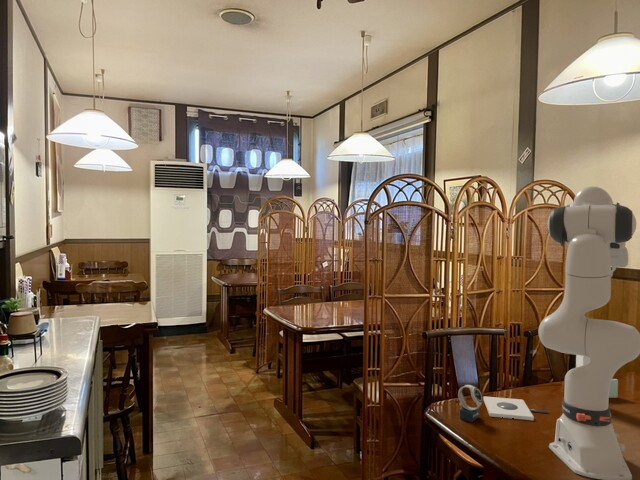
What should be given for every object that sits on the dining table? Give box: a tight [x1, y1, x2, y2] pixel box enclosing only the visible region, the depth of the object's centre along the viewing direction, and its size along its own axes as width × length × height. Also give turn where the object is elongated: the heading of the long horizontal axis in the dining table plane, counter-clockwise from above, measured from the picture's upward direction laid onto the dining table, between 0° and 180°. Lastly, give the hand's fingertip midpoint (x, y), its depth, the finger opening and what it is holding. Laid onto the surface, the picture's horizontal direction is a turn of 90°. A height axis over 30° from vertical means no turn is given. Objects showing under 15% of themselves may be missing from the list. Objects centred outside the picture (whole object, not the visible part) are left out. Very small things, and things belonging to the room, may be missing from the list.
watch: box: [457, 384, 484, 423], centre depth 154 cm, size 6×8×11 cm
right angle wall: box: [609, 378, 619, 399], centre depth 180 cm, size 12×12×8 cm
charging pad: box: [482, 395, 550, 421], centre depth 161 cm, size 16×21×1 cm
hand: (595, 274), depth 177 cm, fingers open, 8 cm apart
